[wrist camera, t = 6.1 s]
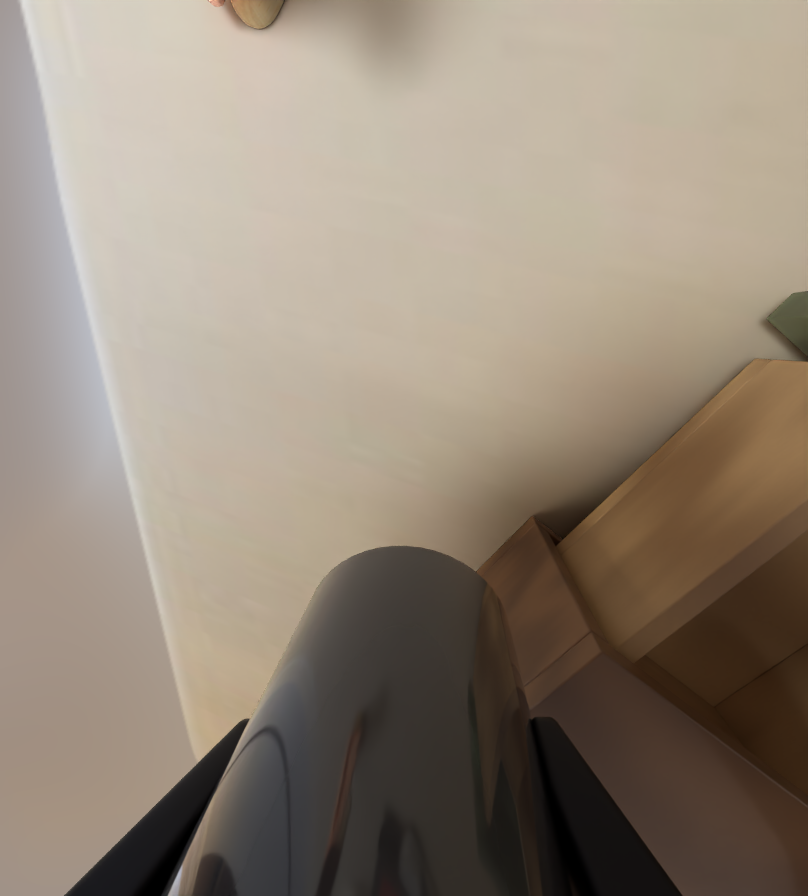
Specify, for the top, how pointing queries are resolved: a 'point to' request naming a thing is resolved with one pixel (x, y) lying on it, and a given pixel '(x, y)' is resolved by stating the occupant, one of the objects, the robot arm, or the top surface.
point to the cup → (385, 751)
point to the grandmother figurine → (254, 11)
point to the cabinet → (648, 739)
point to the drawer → (718, 558)
